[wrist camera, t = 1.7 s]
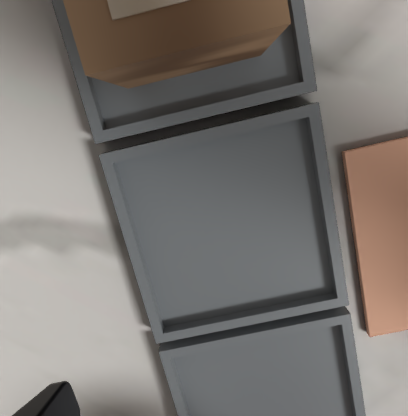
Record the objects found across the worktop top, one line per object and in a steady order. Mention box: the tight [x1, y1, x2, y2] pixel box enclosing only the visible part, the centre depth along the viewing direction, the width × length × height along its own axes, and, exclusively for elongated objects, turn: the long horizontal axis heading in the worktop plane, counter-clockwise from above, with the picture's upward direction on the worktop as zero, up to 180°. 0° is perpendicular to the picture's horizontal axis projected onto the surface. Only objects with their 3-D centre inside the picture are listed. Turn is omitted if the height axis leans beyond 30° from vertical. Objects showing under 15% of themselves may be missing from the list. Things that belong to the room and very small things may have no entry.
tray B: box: [99, 103, 349, 344], centre depth 18 cm, size 10×10×1 cm
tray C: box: [159, 306, 366, 416], centre depth 20 cm, size 10×10×1 cm
